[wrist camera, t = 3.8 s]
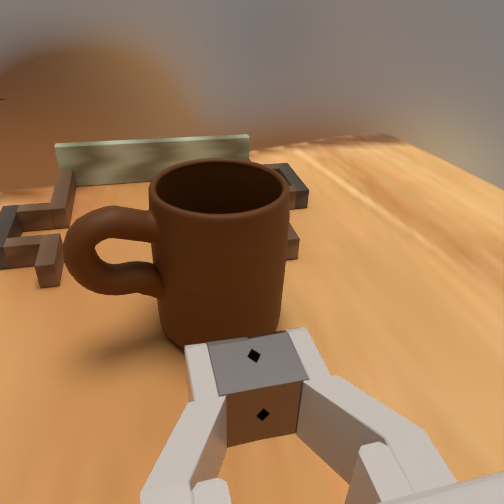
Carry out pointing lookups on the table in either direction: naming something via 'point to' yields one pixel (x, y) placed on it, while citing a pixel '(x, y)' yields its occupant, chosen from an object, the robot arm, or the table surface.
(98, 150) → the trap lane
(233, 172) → the mug
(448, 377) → the table surface
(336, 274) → the table surface
